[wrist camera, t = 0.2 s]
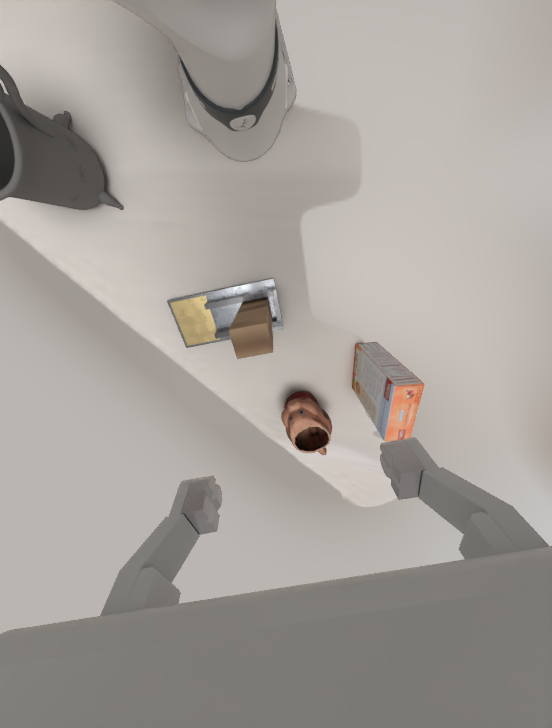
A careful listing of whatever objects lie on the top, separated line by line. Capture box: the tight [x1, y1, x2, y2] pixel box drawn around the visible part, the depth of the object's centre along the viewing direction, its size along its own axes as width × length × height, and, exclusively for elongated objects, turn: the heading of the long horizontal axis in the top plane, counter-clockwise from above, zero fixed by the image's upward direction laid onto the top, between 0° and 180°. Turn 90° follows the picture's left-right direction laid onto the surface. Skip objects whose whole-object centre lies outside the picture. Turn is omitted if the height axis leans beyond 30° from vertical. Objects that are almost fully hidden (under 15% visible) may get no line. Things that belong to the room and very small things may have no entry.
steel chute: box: [167, 278, 283, 348], centre depth 54 cm, size 12×25×4 cm, turn 101°
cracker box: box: [352, 342, 424, 441], centre depth 54 cm, size 14×6×21 cm, turn 4°
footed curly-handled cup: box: [0, 65, 123, 210], centre depth 31 cm, size 19×15×25 cm
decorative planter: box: [282, 391, 332, 455], centre depth 63 cm, size 20×12×14 cm, turn 36°
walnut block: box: [229, 297, 273, 359], centre depth 45 cm, size 5×6×20 cm
